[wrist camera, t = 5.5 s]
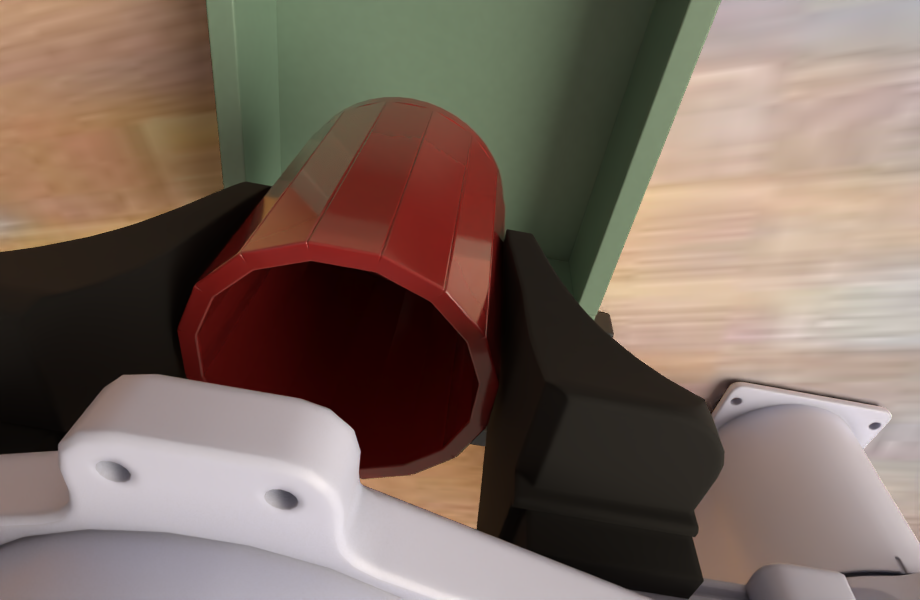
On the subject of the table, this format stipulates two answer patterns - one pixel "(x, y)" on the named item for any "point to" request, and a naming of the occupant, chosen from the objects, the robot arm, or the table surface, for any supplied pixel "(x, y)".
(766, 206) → the table surface
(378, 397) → the cup
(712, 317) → the table surface
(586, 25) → the basin
